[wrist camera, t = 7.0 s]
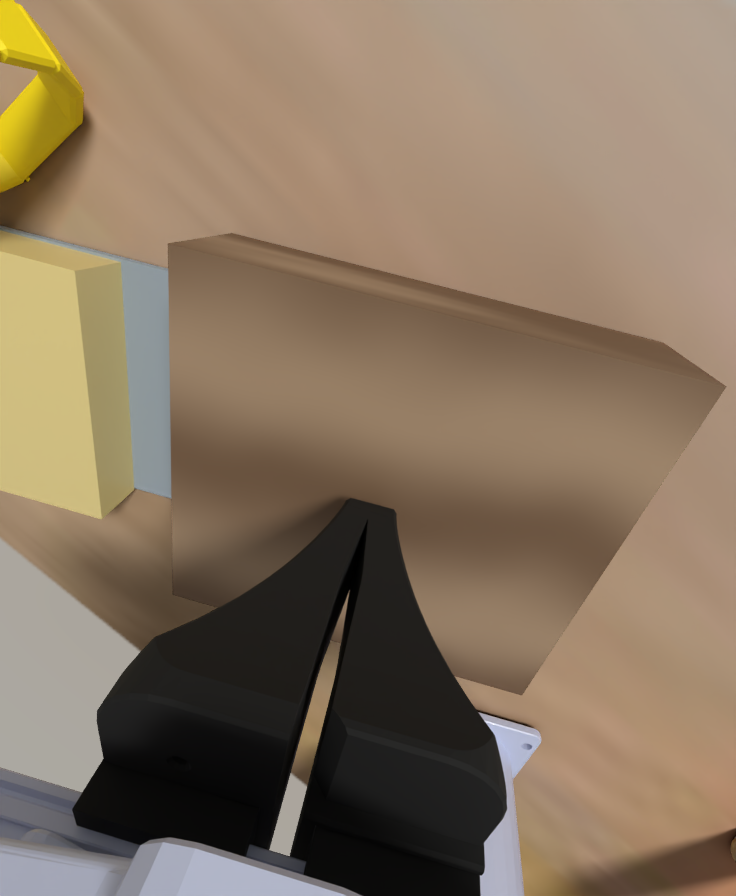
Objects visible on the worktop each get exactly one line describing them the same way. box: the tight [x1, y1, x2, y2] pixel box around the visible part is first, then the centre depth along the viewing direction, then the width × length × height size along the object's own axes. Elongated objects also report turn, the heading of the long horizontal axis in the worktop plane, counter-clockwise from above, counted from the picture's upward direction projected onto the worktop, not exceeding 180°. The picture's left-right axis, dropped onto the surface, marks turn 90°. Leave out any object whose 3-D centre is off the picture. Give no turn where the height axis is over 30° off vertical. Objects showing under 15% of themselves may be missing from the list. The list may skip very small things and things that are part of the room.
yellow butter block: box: [0, 230, 134, 519], centre depth 16 cm, size 9×6×2 cm, turn 168°
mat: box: [0, 225, 171, 498], centre depth 17 cm, size 9×10×1 cm
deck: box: [168, 233, 726, 695], centre depth 15 cm, size 12×13×4 cm
